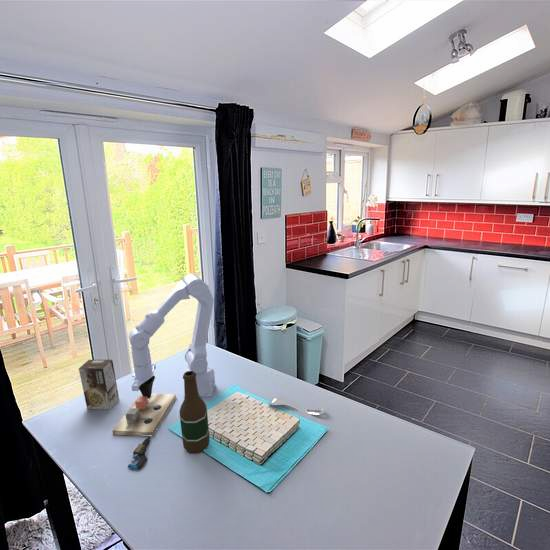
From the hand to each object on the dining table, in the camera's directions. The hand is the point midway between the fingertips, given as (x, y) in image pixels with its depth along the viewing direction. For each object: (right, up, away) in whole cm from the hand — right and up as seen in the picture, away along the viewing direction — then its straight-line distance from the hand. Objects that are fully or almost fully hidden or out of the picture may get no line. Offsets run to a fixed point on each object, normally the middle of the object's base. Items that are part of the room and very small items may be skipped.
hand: (147, 397), depth 127 cm
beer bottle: (+22, -8, -19) cm, 30 cm away
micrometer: (+7, -9, -22) cm, 25 cm away
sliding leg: (+1, -2, -4) cm, 5 cm away
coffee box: (-16, -3, +2) cm, 17 cm away
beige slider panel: (+1, -4, -5) cm, 7 cm away
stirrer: (+52, -3, -4) cm, 52 cm away
